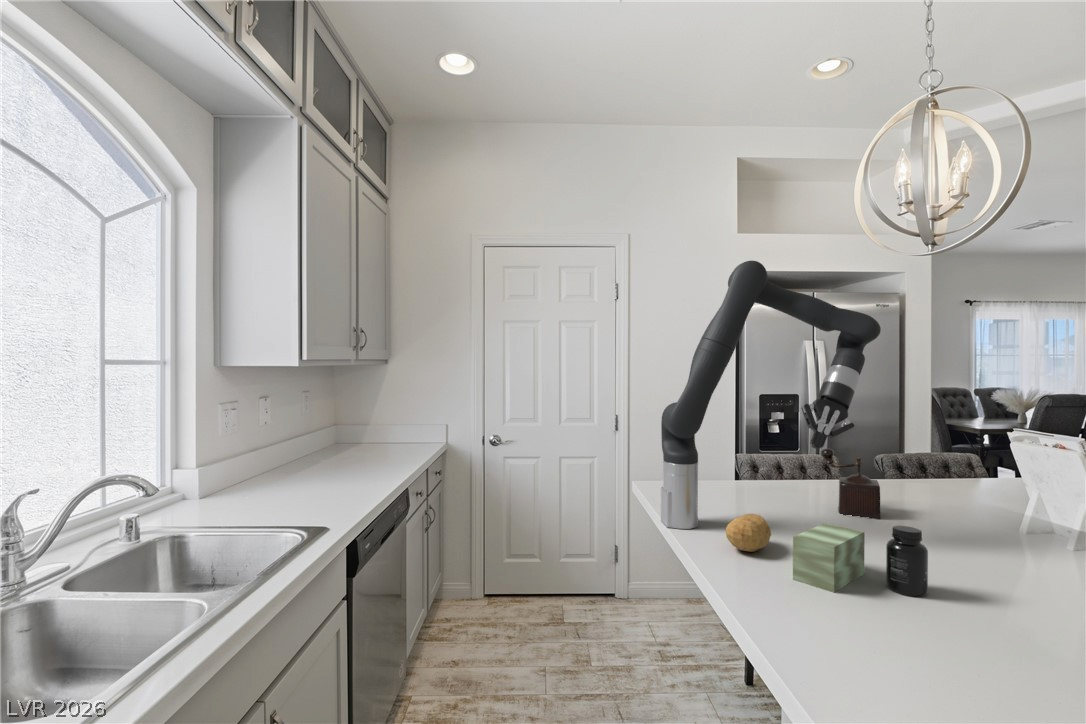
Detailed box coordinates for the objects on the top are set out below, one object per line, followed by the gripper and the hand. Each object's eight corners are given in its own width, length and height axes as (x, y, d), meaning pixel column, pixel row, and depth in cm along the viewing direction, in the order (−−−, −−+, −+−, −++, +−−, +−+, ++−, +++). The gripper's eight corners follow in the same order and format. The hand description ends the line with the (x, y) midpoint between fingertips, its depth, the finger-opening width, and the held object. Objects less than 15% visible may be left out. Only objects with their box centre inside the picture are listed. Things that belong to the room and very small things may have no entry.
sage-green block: (824, 563, 120) (825, 522, 120) (864, 574, 114) (864, 531, 114) (792, 580, 111) (793, 536, 111) (833, 593, 105) (834, 547, 104)
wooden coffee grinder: (877, 510, 163) (878, 450, 163) (881, 519, 153) (881, 456, 153) (820, 503, 170) (820, 446, 170) (819, 512, 160) (820, 452, 160)
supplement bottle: (936, 598, 102) (937, 534, 102) (900, 597, 103) (900, 534, 102) (912, 583, 109) (913, 523, 109) (878, 582, 109) (878, 523, 109)
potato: (776, 545, 132) (776, 512, 132) (763, 562, 120) (763, 526, 120) (735, 537, 137) (735, 506, 137) (719, 553, 125) (719, 519, 125)
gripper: (818, 372, 136) (794, 433, 132) (872, 394, 133) (848, 457, 129) (807, 380, 143) (784, 438, 139) (858, 401, 140) (836, 461, 136)
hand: (815, 447), depth 134 cm, fingers closed
